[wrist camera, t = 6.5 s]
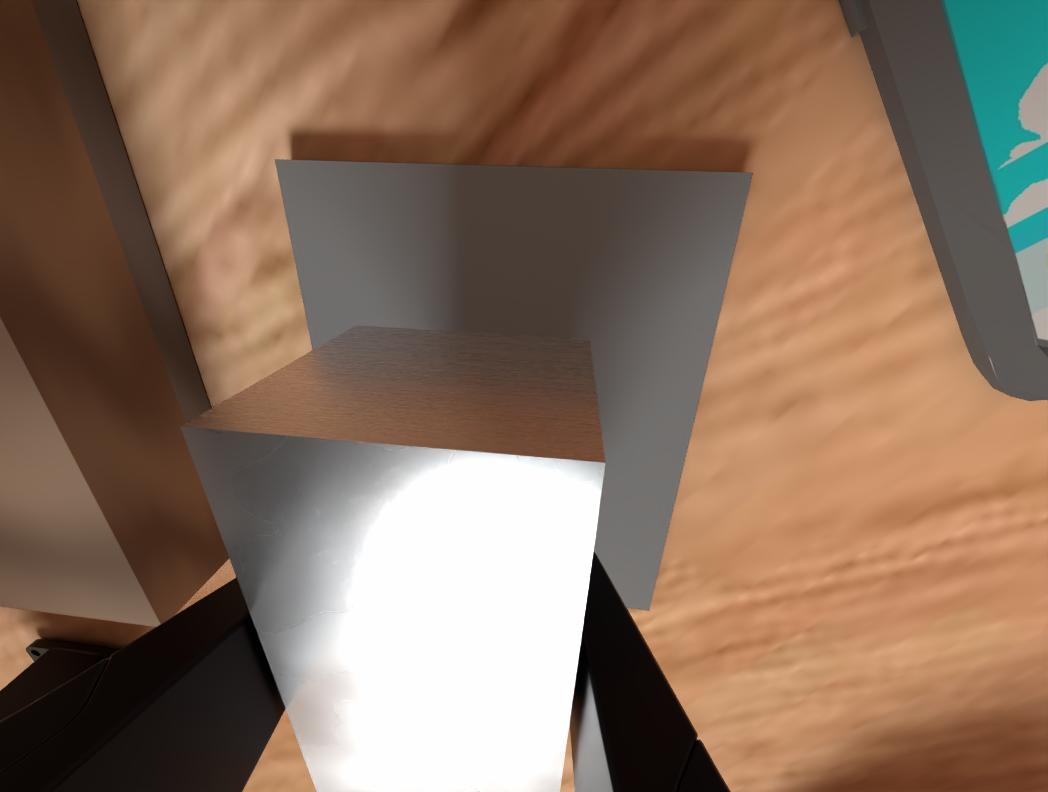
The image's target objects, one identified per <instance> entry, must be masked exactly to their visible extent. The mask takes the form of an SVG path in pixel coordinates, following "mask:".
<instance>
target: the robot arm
mask: <svg viewBox="0 0 1048 792" xmlns="http://www.w3.org/2000/svg"><path fill="white" fill-rule="evenodd" d="M26 651H27V652H28V654H29V655H30V656H31V658H32V659H33V660H34V663H32V664H31V665H30V666H29V667H28V668H27V669H25V670H24V671H23V672H22V673H21V674H20V675H18V676H17V677H16V678H15V679H14V680H13V681H11V682H10V683H9V684H8V685H7V686H6V687H4V688H3V689H2V690H1V691H0V792H242V791H243V789H244V787H245V785H246V783H247V781H248V780H249V778H250V776H251V774H252V772H253V770H254V768H255V766H256V764H257V762H258V760H259V758H260V757H261V755H262V753H263V751H264V749H265V747H266V745H267V743H268V741H269V739H270V737H271V735H272V734H273V732H274V730H275V728H276V726H277V724H278V722H279V720H280V718H281V716H282V714H283V712H284V711H285V709H286V708H285V705H284V703H283V700H282V697H281V695H280V692H279V689H278V687H277V684H276V681H275V679H274V676H273V673H272V671H271V668H270V665H269V663H268V660H267V657H266V654H265V652H264V649H263V646H262V644H261V641H260V638H259V636H258V633H257V630H256V628H255V625H254V622H253V620H252V617H251V614H250V612H249V609H248V606H247V604H246V601H245V598H244V596H243V593H242V590H241V588H240V585H239V582H238V579H237V577H236V578H235V579H233V580H232V581H230V582H228V583H227V584H225V585H224V586H222V587H220V588H219V589H217V590H215V591H214V592H212V593H211V594H209V595H207V596H206V597H204V598H203V599H201V600H199V601H198V602H196V603H194V604H193V605H191V606H190V607H188V608H186V609H185V610H183V611H181V612H180V613H178V614H177V615H175V616H173V617H172V618H170V619H169V620H167V621H165V622H164V623H162V624H160V625H159V626H157V627H156V628H154V629H152V630H151V631H149V632H147V633H146V634H144V635H143V636H141V637H139V638H138V639H136V640H135V641H133V642H131V643H130V644H128V645H126V646H125V647H123V648H122V649H120V650H115V649H108V648H100V647H93V646H86V645H79V644H71V643H64V642H57V641H49V640H42V639H37V640H35V641H34V642H33V643H32V644H30V645H29V646H28V647H27V648H26ZM570 732H571V745H572V759H573V772H574V785H575V792H730V790H729V788H728V786H727V785H726V783H725V781H724V780H723V778H722V776H721V775H720V773H719V771H718V769H717V768H716V766H715V764H714V762H713V761H712V759H711V757H710V755H709V753H708V752H707V750H706V748H705V746H704V744H703V743H702V741H701V740H697V737H698V735H697V732H696V731H695V729H694V727H693V725H692V723H691V722H690V720H689V718H688V716H687V715H686V713H685V711H684V709H683V707H682V706H681V704H680V702H679V700H678V699H677V697H676V695H675V693H674V691H673V690H672V688H671V686H670V684H669V683H668V681H667V679H666V677H665V675H664V674H663V672H662V670H661V668H660V666H659V665H658V663H657V661H656V659H655V658H654V656H653V654H652V652H651V650H650V649H649V647H648V645H647V643H646V642H645V640H644V638H643V636H642V634H641V633H640V631H639V629H638V627H637V625H636V624H635V622H634V620H633V618H632V617H631V615H630V613H629V611H628V609H627V608H626V606H625V604H624V602H623V601H622V599H621V597H620V595H619V593H618V592H617V590H616V588H615V586H614V584H613V583H612V581H611V579H610V577H609V576H608V574H607V572H606V570H605V568H604V567H603V565H602V563H601V561H600V560H599V558H598V556H597V554H596V553H595V552H594V551H593V557H592V564H591V571H590V578H589V585H588V593H587V600H586V607H585V614H584V621H583V629H582V636H581V643H580V650H579V657H578V664H577V672H576V679H575V686H574V693H573V700H572V708H571V715H570Z"/></svg>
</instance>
